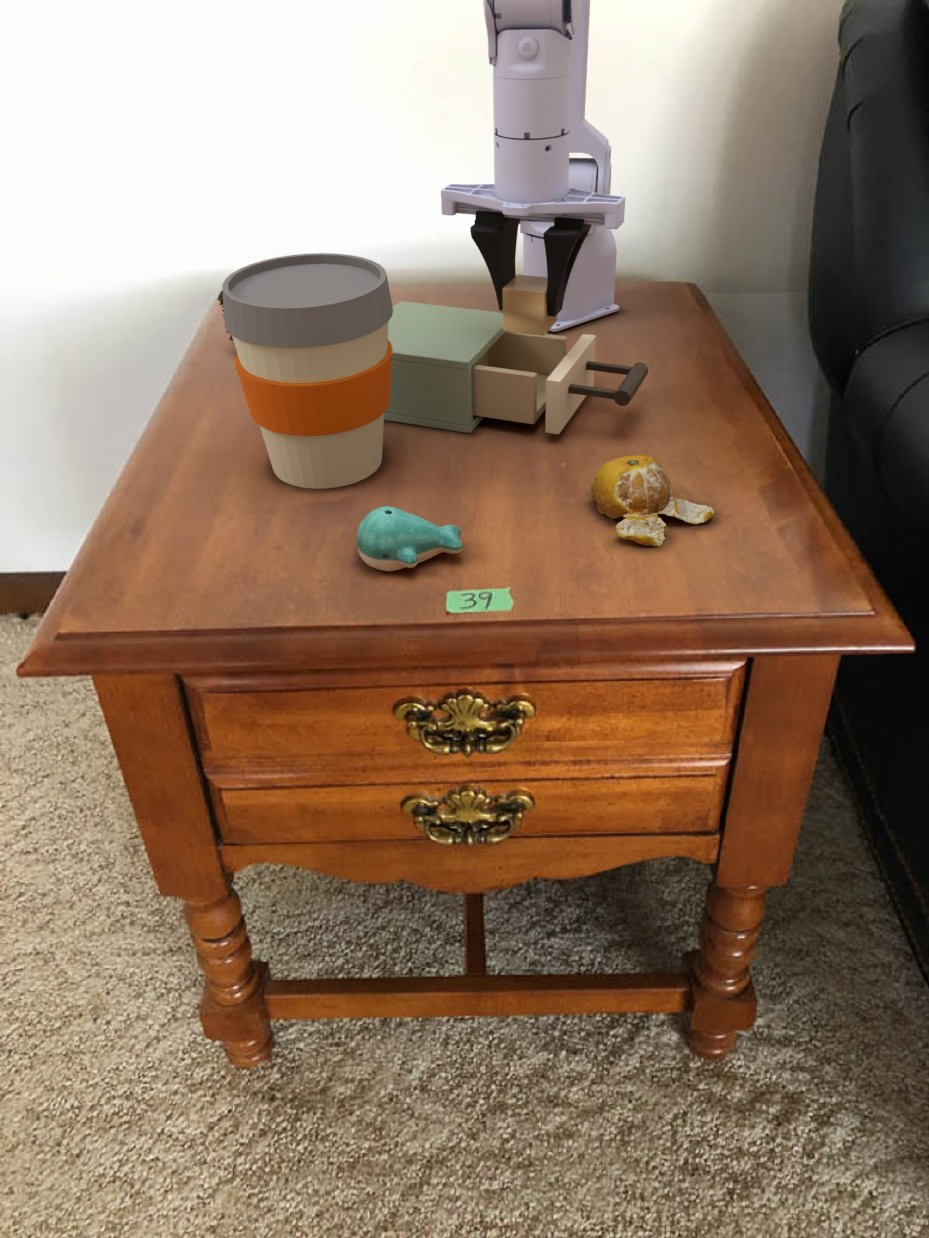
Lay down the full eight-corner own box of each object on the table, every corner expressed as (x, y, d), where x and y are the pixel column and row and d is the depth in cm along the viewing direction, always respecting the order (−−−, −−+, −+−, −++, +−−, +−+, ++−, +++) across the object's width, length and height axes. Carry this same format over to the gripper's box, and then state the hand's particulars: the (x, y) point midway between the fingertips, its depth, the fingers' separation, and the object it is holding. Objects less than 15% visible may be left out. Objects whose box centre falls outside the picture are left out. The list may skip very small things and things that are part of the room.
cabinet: (515, 381, 96) (515, 314, 92) (470, 433, 88) (468, 362, 84) (405, 365, 100) (400, 300, 96) (351, 415, 91) (343, 346, 87)
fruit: (637, 555, 72) (641, 510, 70) (561, 507, 77) (563, 463, 75) (721, 517, 76) (728, 473, 73) (643, 474, 81) (647, 431, 79)
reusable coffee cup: (256, 432, 89) (226, 257, 80) (401, 422, 90) (387, 247, 81) (244, 506, 79) (209, 315, 70) (407, 494, 80) (393, 303, 71)
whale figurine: (360, 537, 75) (355, 491, 73) (461, 532, 75) (459, 486, 73) (357, 582, 70) (352, 535, 68) (465, 577, 70) (463, 529, 68)
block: (557, 320, 87) (558, 278, 85) (543, 336, 84) (544, 292, 82) (517, 316, 88) (517, 274, 86) (502, 331, 85) (502, 288, 83)
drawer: (651, 393, 91) (656, 342, 88) (621, 444, 83) (624, 390, 81) (486, 371, 96) (485, 322, 93) (443, 417, 88) (440, 365, 86)
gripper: (421, 138, 77) (430, 316, 85) (611, 149, 72) (601, 336, 80) (457, 118, 82) (463, 288, 90) (636, 128, 77) (625, 306, 85)
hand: (530, 309), depth 85 cm, fingers closed on block, 3 cm apart
